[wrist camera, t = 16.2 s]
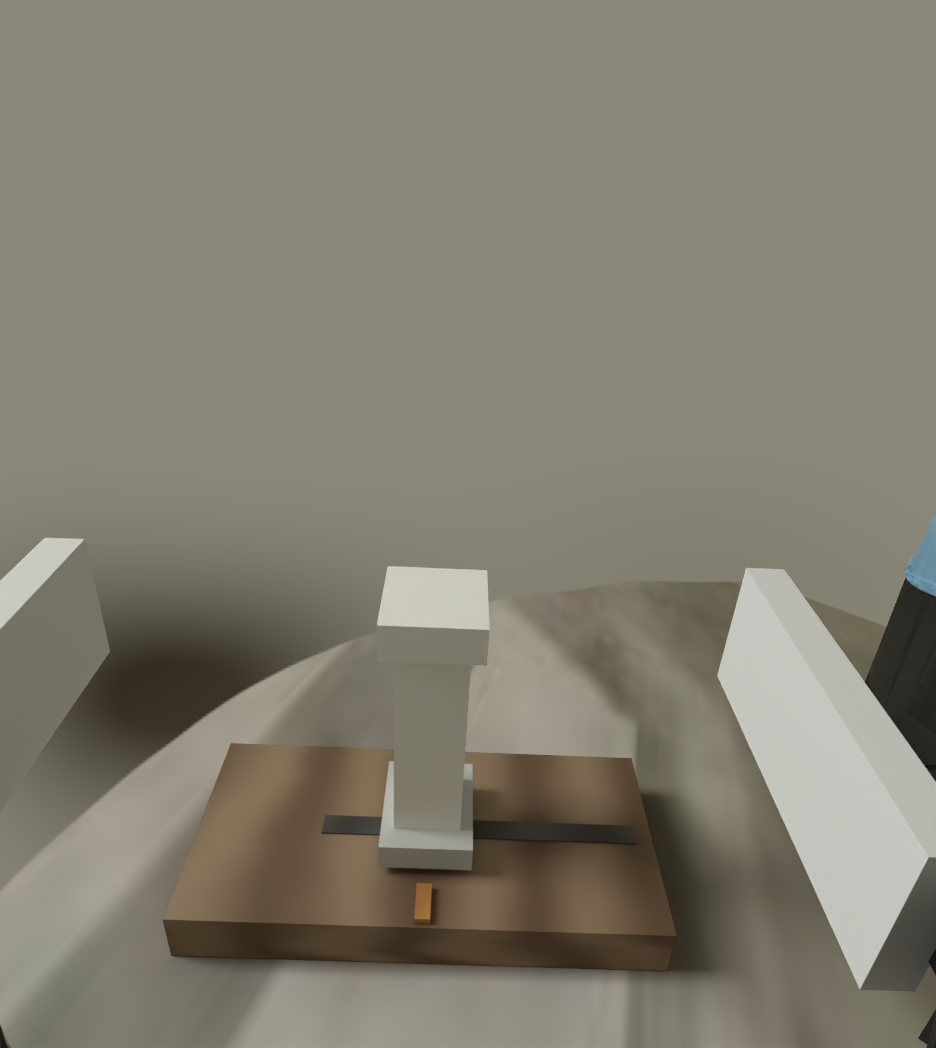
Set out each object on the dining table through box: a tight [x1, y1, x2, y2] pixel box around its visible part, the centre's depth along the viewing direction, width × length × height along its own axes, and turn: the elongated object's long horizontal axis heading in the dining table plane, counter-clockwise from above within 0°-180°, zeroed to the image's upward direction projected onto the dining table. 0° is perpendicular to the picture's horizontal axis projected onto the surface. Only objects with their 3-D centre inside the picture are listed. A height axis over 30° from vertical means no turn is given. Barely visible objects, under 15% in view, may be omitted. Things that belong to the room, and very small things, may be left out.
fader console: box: [163, 743, 677, 971], centre depth 43 cm, size 26×12×3 cm, turn 90°
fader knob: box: [377, 566, 489, 870], centre depth 39 cm, size 5×6×16 cm
